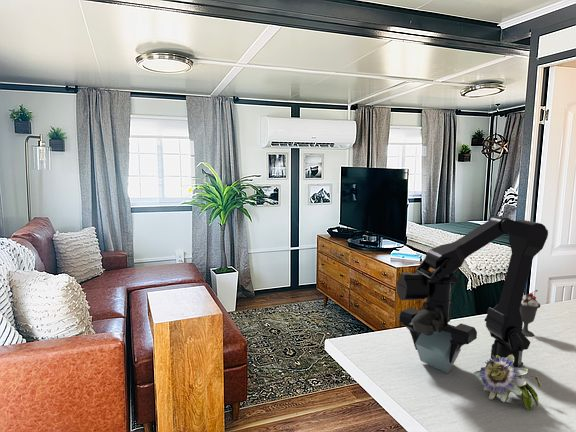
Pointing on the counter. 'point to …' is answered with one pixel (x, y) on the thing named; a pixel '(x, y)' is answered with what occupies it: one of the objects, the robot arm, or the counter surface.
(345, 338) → the counter surface
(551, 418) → the counter surface
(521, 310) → the sundae
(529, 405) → the passion flower
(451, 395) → the counter surface
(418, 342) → the grey-blue slanted prism
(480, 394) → the counter surface
